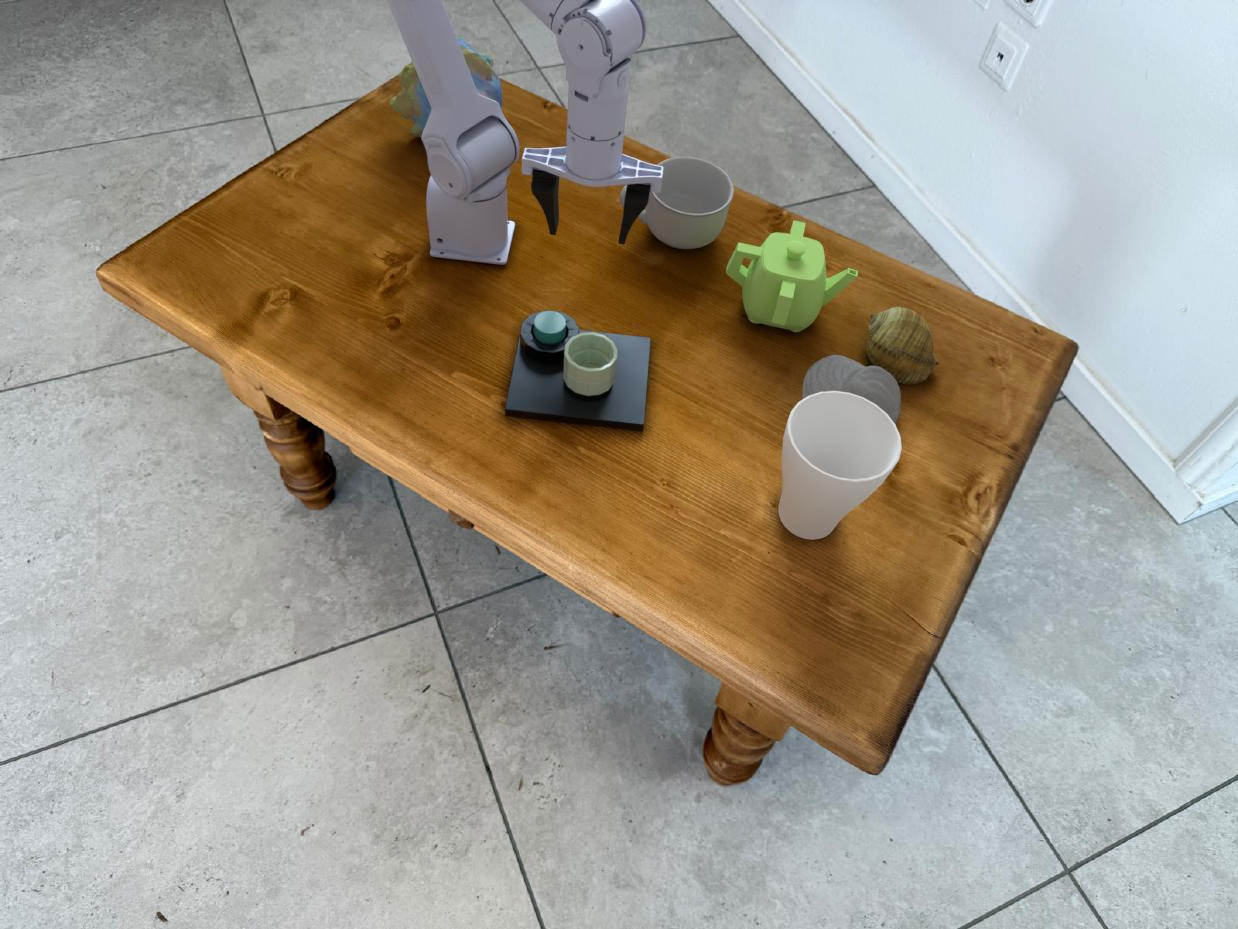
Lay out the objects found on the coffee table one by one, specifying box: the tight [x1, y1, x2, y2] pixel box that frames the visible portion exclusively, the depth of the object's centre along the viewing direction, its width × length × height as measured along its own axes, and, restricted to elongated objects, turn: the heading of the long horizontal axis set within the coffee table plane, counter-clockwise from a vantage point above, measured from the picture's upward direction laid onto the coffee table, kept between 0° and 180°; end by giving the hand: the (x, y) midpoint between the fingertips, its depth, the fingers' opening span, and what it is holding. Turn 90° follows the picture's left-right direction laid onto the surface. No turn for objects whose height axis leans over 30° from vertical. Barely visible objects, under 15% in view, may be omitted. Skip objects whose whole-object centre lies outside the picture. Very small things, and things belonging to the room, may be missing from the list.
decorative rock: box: [389, 37, 503, 138], centre depth 119 cm, size 14×16×15 cm
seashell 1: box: [801, 354, 902, 426], centre depth 97 cm, size 12×6×10 cm
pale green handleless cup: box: [563, 331, 617, 396], centre depth 96 cm, size 6×6×4 cm
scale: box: [504, 309, 652, 432], centre depth 98 cm, size 15×14×3 cm
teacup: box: [619, 156, 735, 250], centre depth 112 cm, size 14×11×8 cm
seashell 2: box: [865, 306, 940, 386], centre depth 103 cm, size 10×7×8 cm
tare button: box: [534, 310, 566, 345], centre depth 99 cm, size 4×4×2 cm
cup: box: [778, 391, 903, 541], centre depth 85 cm, size 10×10×14 cm
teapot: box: [725, 220, 859, 333], centre depth 105 cm, size 12×12×10 cm
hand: (588, 233), depth 98 cm, fingers open, 7 cm apart
